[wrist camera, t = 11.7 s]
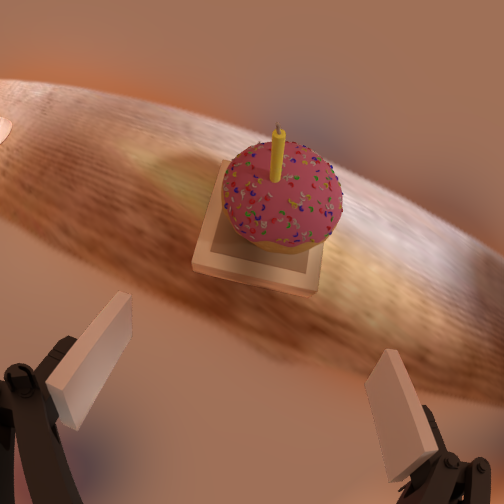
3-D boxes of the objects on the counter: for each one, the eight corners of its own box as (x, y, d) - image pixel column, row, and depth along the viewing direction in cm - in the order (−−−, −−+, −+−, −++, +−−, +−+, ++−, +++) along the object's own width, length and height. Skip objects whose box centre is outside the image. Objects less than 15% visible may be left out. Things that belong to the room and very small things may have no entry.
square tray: (320, 199, 29) (330, 185, 27) (308, 297, 26) (318, 290, 23) (221, 175, 29) (222, 158, 26) (193, 271, 25) (191, 261, 23)
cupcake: (246, 289, 22) (279, 215, 11) (202, 196, 25) (200, 81, 13) (339, 246, 25) (420, 164, 13) (291, 166, 27) (332, 62, 16)
